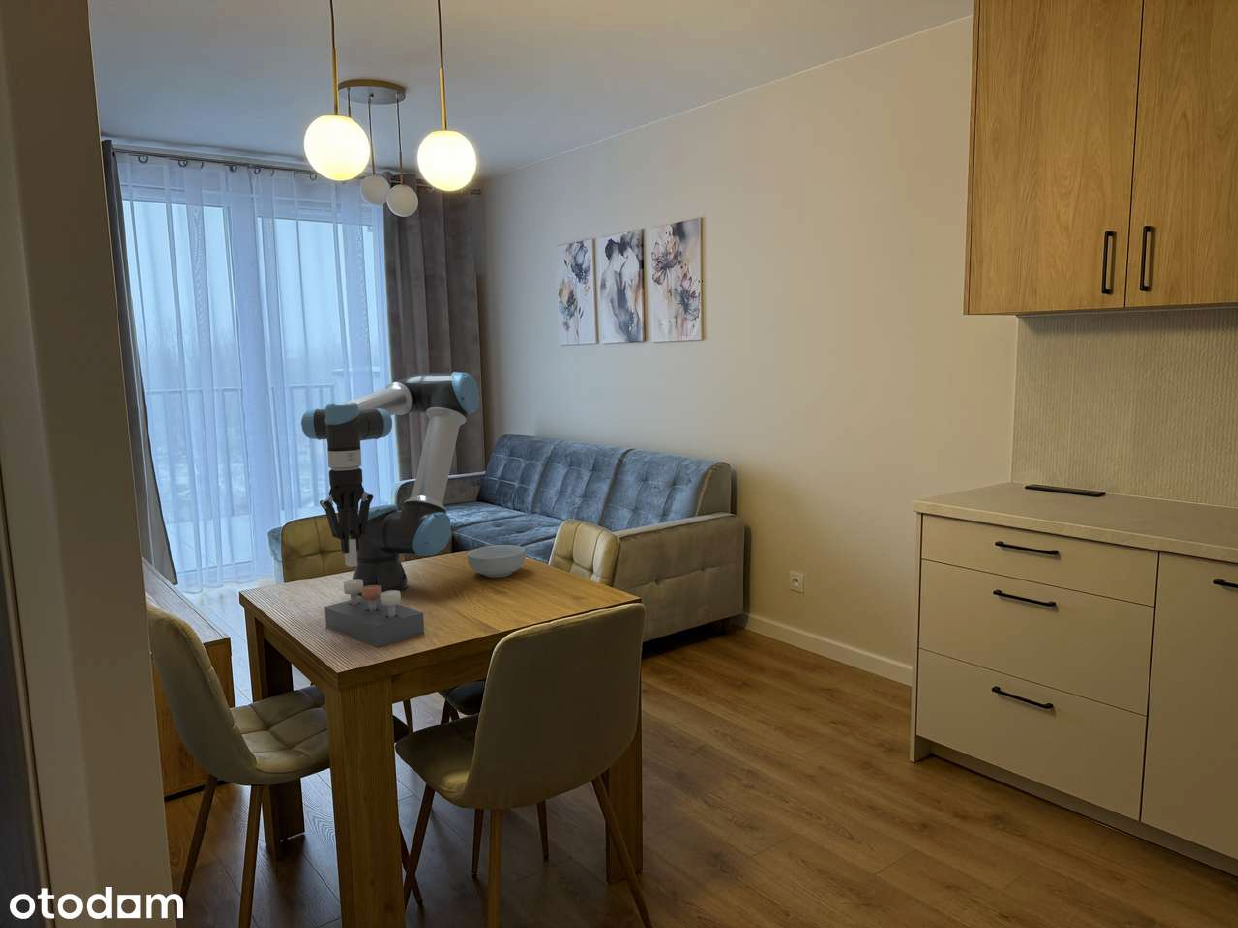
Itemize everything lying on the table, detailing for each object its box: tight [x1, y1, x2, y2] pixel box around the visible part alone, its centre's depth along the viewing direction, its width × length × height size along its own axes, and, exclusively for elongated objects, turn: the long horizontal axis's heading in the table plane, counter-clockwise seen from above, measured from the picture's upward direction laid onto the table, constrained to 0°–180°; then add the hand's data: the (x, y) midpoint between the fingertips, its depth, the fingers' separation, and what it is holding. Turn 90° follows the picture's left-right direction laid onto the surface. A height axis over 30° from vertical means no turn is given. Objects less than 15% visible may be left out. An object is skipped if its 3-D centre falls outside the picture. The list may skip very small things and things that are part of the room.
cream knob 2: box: [380, 590, 402, 618], centre depth 187 cm, size 4×4×7 cm
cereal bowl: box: [467, 544, 527, 579], centre depth 241 cm, size 17×17×7 cm
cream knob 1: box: [343, 579, 363, 606], centre depth 198 cm, size 4×4×7 cm
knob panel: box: [323, 596, 425, 648], centre depth 193 cm, size 12×23×5 cm, turn 48°
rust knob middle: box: [361, 585, 382, 612], centre depth 193 cm, size 4×4×7 cm
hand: (351, 565), depth 197 cm, fingers closed
